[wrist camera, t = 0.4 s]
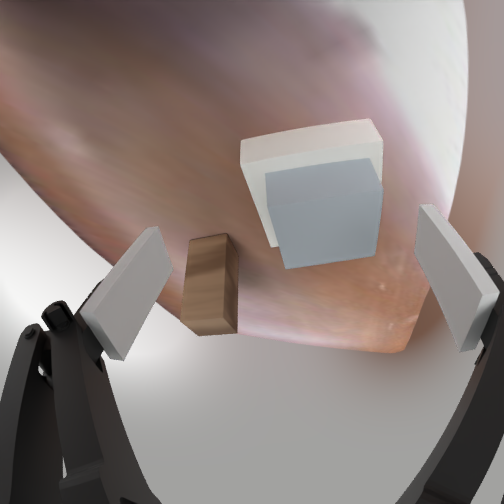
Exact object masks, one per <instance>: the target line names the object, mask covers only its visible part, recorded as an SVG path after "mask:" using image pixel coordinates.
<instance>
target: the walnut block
mask: <svg viewBox="0 0 504 504" xmlns="http://www.w3.org/2000/svg"><path fill="white" fill-rule="evenodd" d="M238 257H239V256H238V254H237V252H236V250H235V248H234V246H233V245H232V243H231V241H230V239H229V237H228V235H227V234H222V235H217V236H211V237H206V238H200V239H195V240H190V242H189V249H188V257H187V265H186V273H185V281H184V290H183V299H182V308H181V318H180V322H182V323H183V324H184V325H185V326H187V327H188V328H189V329H190V330H192V331H193V332H194V333H195V334H197V335H198V336H207V335H222V334H234V333H237V326H238Z"/></svg>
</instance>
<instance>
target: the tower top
mask: <svg viewBox="0 0 504 504" xmlns="http://www.w3.org/2000/svg"><path fill="white" fill-rule="evenodd" d="M265 180H266V195H267V208H268V211H269V215H270V218H271V221H272V225H273V228H274V231H275V235H276V238H277V241H278V245H279V248H280V252H281V255H282V259H283V262H284V265H285V269H291V268H298V267H305V266H312V265H318V264H325V263H332V262H338V261H345V260H351V259H358V258H364V257H370V256H375V252H376V245H377V239H378V232H379V225H380V218H381V210H382V201H383V192H384V189H383V187H382V185H381V182H380V180H379V178H378V176H377V173H376V171H375V169H374V167H373V165H372V162H371V160H370V158H363V159H355V160H347V161H340V162H332V163H325V164H319V165H312V166H305V167H299V168H293V169H287V170H281V171H275V172H270V173H265Z"/></svg>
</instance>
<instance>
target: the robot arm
mask: <svg viewBox="0 0 504 504" xmlns="http://www.w3.org/2000/svg"><path fill="white" fill-rule="evenodd" d="M414 254H415V256H416V258H417V260H418V262H419V263H420V265H421V267H422V269H423V271H424V273H425V275H426V277H427V279H428V281H429V283H430V286H431V288H432V290H433V292H434V294H435V296H436V298H437V300H438V303H439V305H440V307H441V309H442V312H443V314H444V316H445V319H446V321H447V323H448V326H449V328H450V330H451V333H452V335H453V338H454V340H455V343H456V346H457V348H458V351H459V352H463V351H468V350H473V349H475V348H476V346H477V344H478V342H479V340H480V338H481V340H482V342H483V344H484V347H483V349H482V351H481V353H480V355H479V356H478V358H477V360H476V362H475V365H476V366H475V369H474V371H473V374H472V376H471V378H470V381H469V383H468V386H467V387H466V390H465V392H464V394H463V396H462V398H461V400H460V402H459V404H458V406H457V409H456V411H455V412H454V414H453V416H452V418H451V420H450V422H449V424H448V426H447V428H446V429H445V431H444V433H443V435H442V436H441V438H440V440H439V442H438V443H437V445H436V447H435V448H434V450H433V451H432V453H431V455H430V456H429V458H428V459H427V461H426V463H425V464H424V465H423V467H422V468H421V470H420V472H419V473H418V474H417V476H416V477H415V478H414V480H413V481H412V483H411V484H410V485H409V487H408V488H407V490H406V491H405V492H404V494H403V495H402V496H401V497H400V499H399V500H398V501H397V502H396V503H395V504H470V503H471V501H472V499H473V497H474V496H475V494H476V492H477V490H478V488H479V486H480V484H481V483H482V481H483V479H484V477H485V475H486V473H487V471H488V469H489V467H490V465H491V462H492V460H493V458H494V456H495V454H496V451H497V449H498V447H499V444H500V442H501V440H502V437H503V434H504V281H503V280H502V278H501V277H500V276H499V275H498V273H497V271H496V270H495V269H494V268H493V266H492V265H491V263H490V262H489V261H488V259H487V258H485V257H484V256H483V255H481V254H480V253H479V252H477V253H472V251H471V250H470V249H469V247H468V246H467V245H466V243H465V242H464V241H463V239H462V238H461V237H460V236H459V234H458V233H457V232H456V231H455V229H454V228H453V227H452V226H451V225H450V223H449V222H448V221H447V220H446V219H445V217H444V216H443V215H442V214H441V213H440V211H439V210H438V209H437V208H436V207H435V206H434V205H433V204H419V214H418V225H417V234H416V243H415V251H414ZM172 271H173V267H172V264H171V261H170V258H169V255H168V253H167V250H166V247H165V244H164V241H163V238H162V235H161V232H160V229H159V226H157V227H149V228H146V229H145V230H144V231H143V232H142V233H141V235H140V236H139V237H138V238H137V239H136V240H135V242H134V243H133V244H132V245H131V246H130V248H129V249H128V250H127V251H126V252H125V254H124V255H123V256H122V257H121V258H120V260H119V261H118V262H117V263H116V265H115V266H114V267H113V268H112V270H111V271H110V272H109V274H108V275H107V276H106V277H105V278H104V279H103V280H102V281H100V282H99V283H98V284H97V285H96V287H95V288H94V289H93V290H92V293H90V294H89V296H88V298H86V300H85V301H84V302H83V304H82V305H81V306H80V308H79V309H78V310H77V312H76V313H75V314H74V315H73V314H72V312H71V310H70V309H69V307H68V306H67V304H66V302H65V301H57V302H54V303H52V304H51V305H49V306H48V307H47V308H46V309H45V310H44V311H43V313H42V316H41V317H42V319H43V321H44V322H45V324H46V325H47V327H48V328H49V331H43V329H42V328H41V326H40V325H39V324H37V323H36V324H32V325H29V326H27V327H26V328H25V329H24V331H23V332H22V333H21V335H20V338H19V340H18V343H17V346H16V349H15V352H14V355H13V358H12V361H11V365H10V368H9V371H8V375H7V378H6V382H5V386H4V390H3V393H2V397H1V401H0V504H162V503H161V502H160V501H159V499H158V498H157V497H156V496H155V495H154V494H153V493H152V492H151V490H150V489H149V487H148V485H147V483H146V480H145V478H144V476H143V474H142V472H141V469H140V467H139V464H138V462H137V460H136V457H135V455H134V452H133V450H132V447H131V445H130V442H129V439H128V437H127V434H126V431H125V428H124V426H123V423H122V420H121V417H120V414H119V411H118V408H117V405H116V402H115V398H114V395H113V392H112V388H111V385H110V381H109V378H108V374H107V370H106V366H105V363H104V360H103V359H102V357H101V354H102V352H103V350H104V351H105V352H106V354H107V355H108V356H109V358H110V359H114V360H122V361H124V360H125V357H126V355H127V353H128V352H129V350H130V348H131V346H132V344H133V342H134V340H135V338H136V336H137V335H138V333H139V331H140V329H141V327H142V325H143V323H144V321H145V319H146V318H147V316H148V314H149V312H150V310H151V308H152V307H153V305H154V303H155V301H156V299H157V298H158V296H159V294H160V292H161V290H162V289H163V287H164V285H165V283H166V282H167V280H168V278H169V276H170V275H171V273H172ZM38 366H40V367H41V368H42V370H43V371H44V372H43V376H42V375H41V374H40V373H39V371H38ZM63 458H64V463H65V467H66V472H67V476H66V477H65V478H63ZM501 504H504V495H503V498H502V501H501Z"/></svg>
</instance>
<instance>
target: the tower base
mask: <svg viewBox="0 0 504 504" xmlns="http://www.w3.org/2000/svg"><path fill="white" fill-rule="evenodd" d="M363 158H370V160H371V162H372V165H373V167H374V169H375V171H376V173H377V176H378V178H379V180H380V182H382V164H383V140H382V138H381V136H380V134H379V133H378V131H377V129H376V128H375V126H374V124H373V123H372V121H371V119H361V120H352V121H344V122H337V123H330V124H323V125H317V126H310V127H304V128H299V129H293V130H287V131H282V132H277V133H272V134H267V135H262V136H257V137H253V138H248V139H244V140H241V151H240V166H241V168H242V171H243V174H244V176H245V179H246V182H247V184H248V187H249V190H250V192H251V195H252V197H253V200H254V203H255V205H256V208H257V211H258V213H259V216H260V219H261V222H262V224H263V227H264V230H265V232H266V235H267V238H268V240H269V243H270V246H271V247H277V246H279V245H278V241H277V238H276V235H275V231H274V228H273V225H272V221H271V218H270V215H269V211H268V208H267V195H266V180H265V173H270V172H275V171H281V170H287V169H293V168H299V167H305V166H312V165H319V164H325V163H332V162H340V161H347V160H355V159H363Z"/></svg>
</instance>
